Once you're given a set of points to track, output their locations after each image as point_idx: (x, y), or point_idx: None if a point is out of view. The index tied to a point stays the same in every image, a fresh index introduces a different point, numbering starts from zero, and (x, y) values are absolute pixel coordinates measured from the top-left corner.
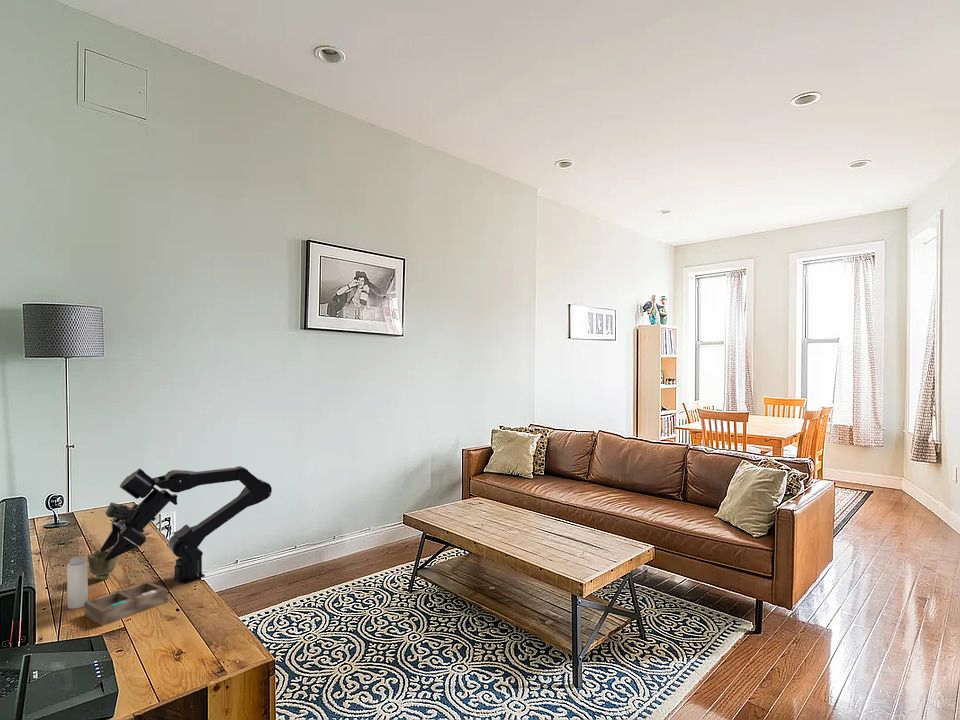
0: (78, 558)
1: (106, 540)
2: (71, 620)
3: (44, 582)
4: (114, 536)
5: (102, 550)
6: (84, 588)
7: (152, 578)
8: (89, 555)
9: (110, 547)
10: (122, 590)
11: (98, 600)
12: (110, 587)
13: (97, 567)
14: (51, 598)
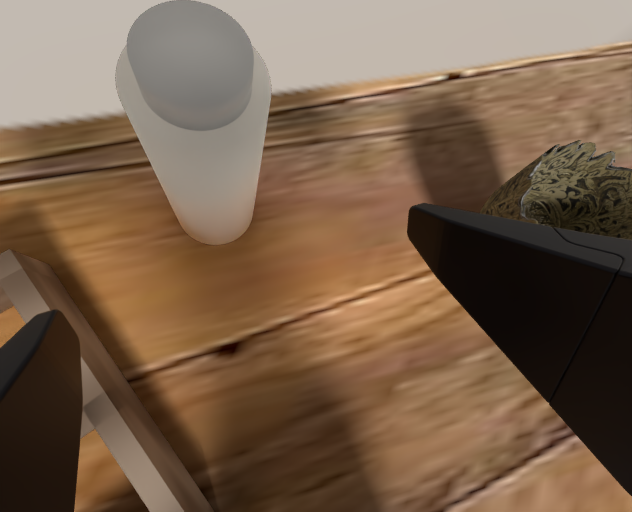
0: (200, 60)
1: (499, 229)
2: (22, 219)
3: (504, 62)
4: (563, 312)
5: (410, 225)
6: (182, 212)
7: (434, 475)
8: (584, 150)
9: (446, 286)
10: (111, 428)
11: (25, 317)
12: (380, 300)
13: (492, 215)
14: (338, 104)
